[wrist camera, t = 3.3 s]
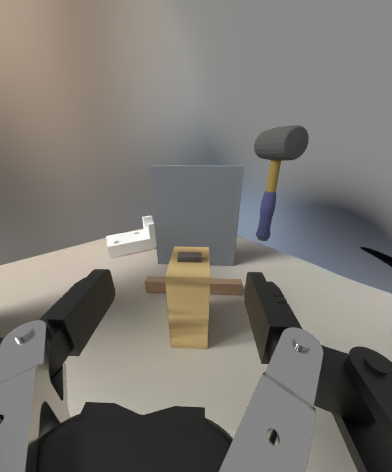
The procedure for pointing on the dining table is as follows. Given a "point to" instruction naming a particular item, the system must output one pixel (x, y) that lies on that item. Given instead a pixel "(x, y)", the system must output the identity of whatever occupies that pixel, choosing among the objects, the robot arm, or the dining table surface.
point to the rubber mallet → (277, 165)
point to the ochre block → (188, 297)
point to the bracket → (133, 240)
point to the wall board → (196, 216)
